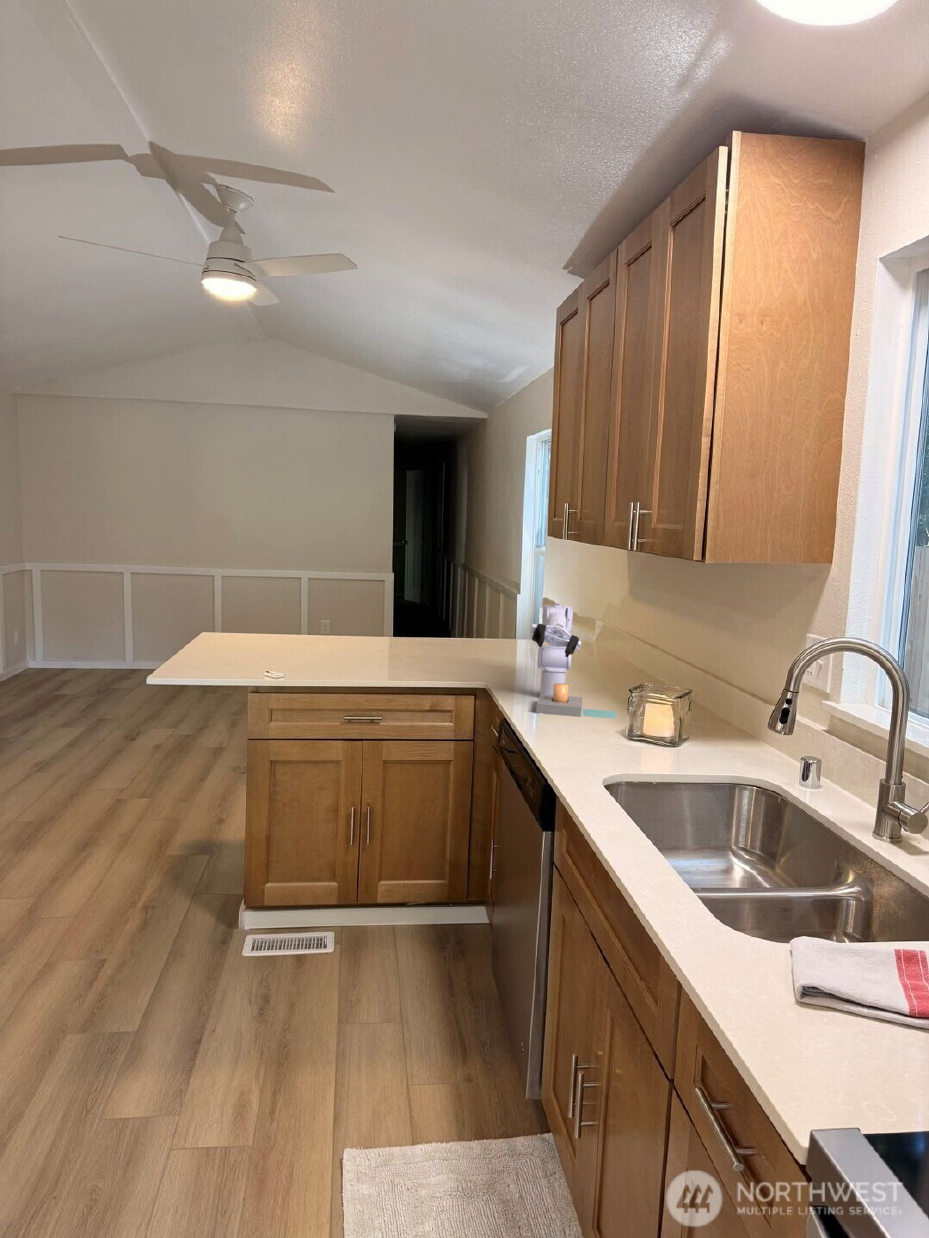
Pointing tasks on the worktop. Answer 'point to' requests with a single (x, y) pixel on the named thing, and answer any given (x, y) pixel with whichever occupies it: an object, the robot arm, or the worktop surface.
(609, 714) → the mat
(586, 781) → the worktop surface
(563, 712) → the block
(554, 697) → the plug
